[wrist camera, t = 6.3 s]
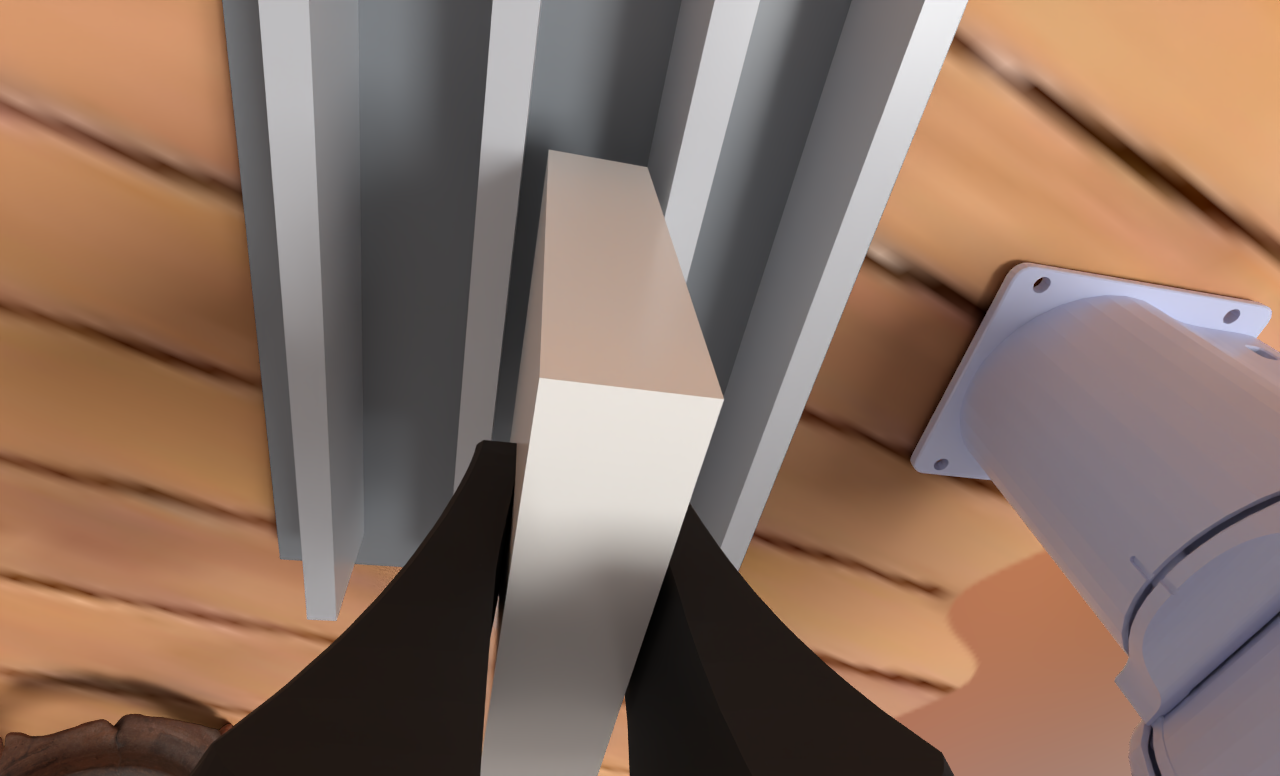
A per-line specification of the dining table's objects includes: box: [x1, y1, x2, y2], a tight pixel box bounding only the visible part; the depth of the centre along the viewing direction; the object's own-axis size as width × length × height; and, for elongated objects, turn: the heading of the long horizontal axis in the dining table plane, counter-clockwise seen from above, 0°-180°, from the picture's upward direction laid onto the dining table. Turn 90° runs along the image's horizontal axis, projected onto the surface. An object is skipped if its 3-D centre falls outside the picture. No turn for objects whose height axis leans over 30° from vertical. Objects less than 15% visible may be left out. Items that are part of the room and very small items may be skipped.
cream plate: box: [480, 150, 724, 776], centre depth 13 cm, size 2×9×8 cm, turn 169°
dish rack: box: [222, 0, 968, 621], centre depth 18 cm, size 16×22×4 cm
